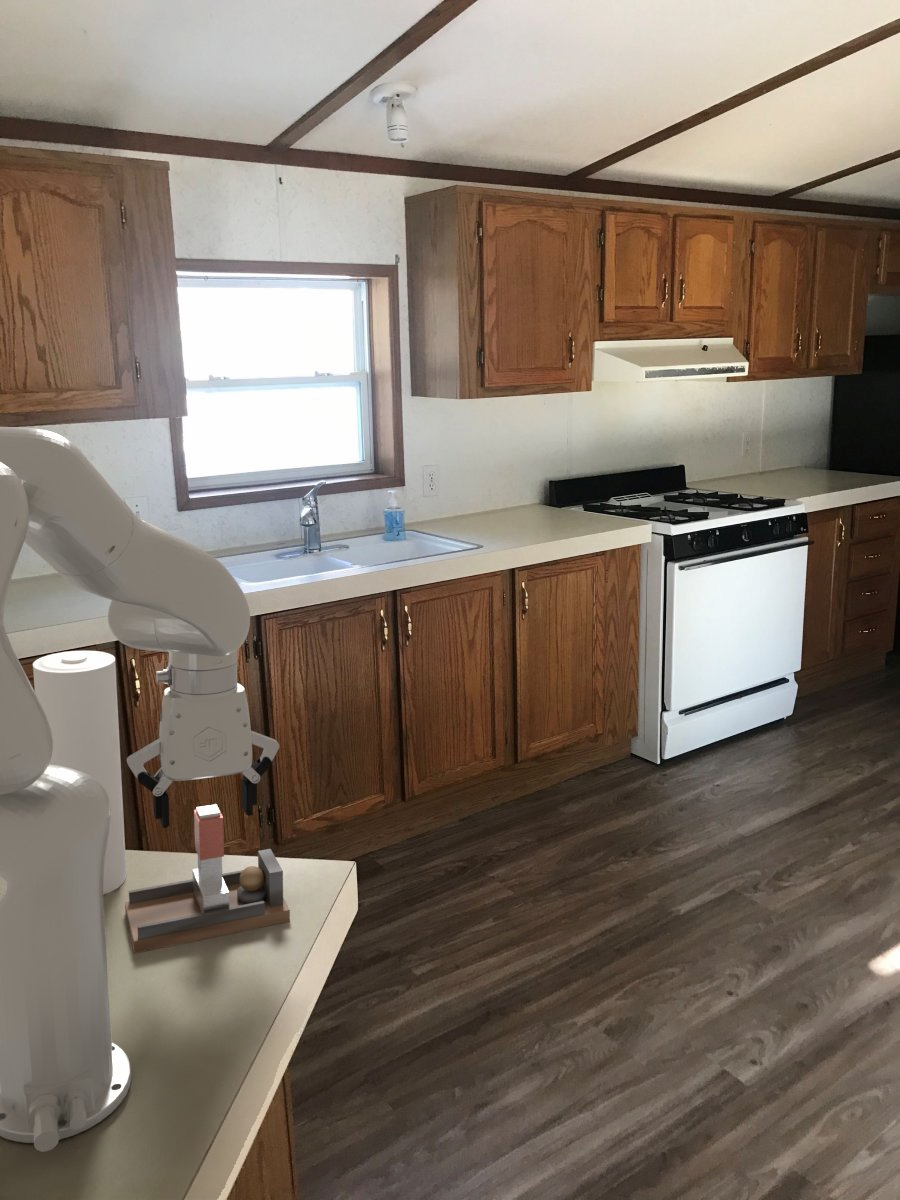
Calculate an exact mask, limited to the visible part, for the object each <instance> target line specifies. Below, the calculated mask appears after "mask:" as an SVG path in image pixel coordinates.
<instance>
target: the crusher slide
mask: <svg viewBox="0 0 900 1200" xmlns="http://www.w3.org/2000/svg"><path fill="white" fill-rule="evenodd" d="M193 820H194V821H193V823H194V847H195V852H196V853H197V868H193V869H192V879H193V892H194V895H195V897H196V900H197V903H198V905H199V908H200V911H201V913H204V912H210V911H215V910H220V909H225V908H229V891H228V889H227V886H226V884H225V882H224V880H223V877H222V874H223V860H222V859H223V858H224V857H225V842H224V840H225V839H224V816H223V814H222V813H221V811H220V809H219V807H218V804H217V803H214V804H211V805H210V804H209V805H203V806H196V808H195V809H194V810H193Z"/></svg>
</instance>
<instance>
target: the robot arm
mask: <svg viewBox="0 0 900 1200" xmlns="http://www.w3.org/2000/svg"><path fill="white" fill-rule="evenodd" d="M24 544H26V545H27V547H30V549H32V550H33V551H34V552H35V553H36V554H37V555H38V556H39V557H40V558H41V559H43V560H44V561H45V562H46V563H47V564H48V565H50V566H51V567H52V568H53V569H54V570H55V571H56V572H57V573H58V574H59V575H60V576H62V578H64V580H66V581H67V582H68V583H69V584H71V585H72V586H74V587H75V588H78V589H79V590H82V591H84V592H87V593H90V594H92V595H95V596H99V597H101V598H104V599H107V600H110V601H111V602H110V605H109V606H108V613H107V620H108V621H107V622H108V625H109V629H110V631H111V633H112V635H113V636H114V637H115V639H117V641H119V643H121V644H123V645H125V646H127V647H130V648H133V649H137V650H144V651H153V652H154V651H155V652H164V653H168V662H167V666H166V667H165V669H163V670H158V671H157V670H156V672H155V679H156V684H161V683H163V684H164V685H165V684H167V686H168V687H166V688H165V689H164V690H163V694H162V695H163V696H162V701H161V707H160V716H159V736H158V738H157V739H156V740H154V741H152V742H150V743H149V744H147V745H145V746H144V747H142V748H141V749H139V750H137V751H135V752H134V753H132V754H130V755H129V756H127V757H126V763H127V766H128V767H129V769H130V770H131V772H132V773H133V775H134V777H135V778H136V779H137V781H138V783H139V784H140V785H142V786H143V787H144V788H146V789H147V790H148V791H150V792H151V793H152V795H153V797H152V798H153V817H154V820H159V821H160V824H161V827H162V829H166V828H167V829H168V827H170V799H169V798H170V797H169V794H168V791H167V789H168V788H169V787H170V785H171V784H172V783H173V782H174V781H175V782H182V781H183V782H184V781H185V782H186V781H193V780H201V779H208V778H216V777H224V776H231V775H239V774H241V773H242V777H240V803H241V805H240V806H241V808H242V810H243V811H244V812H243V813H245V815H247V816H248V817H249V816H253V815H254V807H253V806H257V805H258V783H259V782H260V780H261V777H262V776H263V775H265V773H266V772H267V771H268V770H269V769H270V767H271V766H272V764H273V763H272V762H273V761H274V759H275V758H276V757H275V756H276V754H277V752H278V751H279V749H280V743H279V742H278V740H276V739H274V738H272V737H269V736H266V735H265V734H262V733H258V732H256V731H253V730H252V729H251V717H250V710H249V703H248V696H247V693H246V692H247V691H246V689H245V687H244V686H243V685H242V684H240V683H238V650H239V649H240V648H241V647H242V645H244V643H245V641H246V639H247V637H248V634H249V631H250V626H251V614H250V613H251V612H250V607H249V603H248V600H247V598H246V596H245V594H244V591H243V589H242V588H241V586H240V585H239V583H238V582H237V581H236V579H235V578H234V576H233V575H232V574H231V573H230V571H229V569H227V568H226V566H224V564H222V563H221V561H219V560H218V559H217V558H215V557H214V556H213V555H211V554H210V553H208V552H206V551H204V550H203V549H201V548H199V547H197V546H195V545H193V544H192V543H191V542H190V543H189V542H188V541H186V540H183V539H181V538H180V537H178V536H176V535H175V534H172V533H170V532H168V531H166V530H164V529H162V528H160V527H159V526H156V525H154V524H152V523H150V522H147V521H145V520H143V519H141V518H140V517H138V516H137V515H136V514H135V513H134V512H133V510H132V509H131V508H130V507H129V506H128V504H127V503H126V502H125V501H124V500H123V499H122V498H121V497H120V495H118V494H117V492H116V491H115V490H114V488H113V487H112V486H111V485H110V484H109V483H108V481H107V480H106V478H105V477H104V476H103V475H102V474H101V473H100V471H99V470H98V469H96V467H95V466H94V465H93V464H92V462H90V460H89V458H87V456H86V455H85V454H84V453H83V452H81V450H80V449H79V447H77V446H76V445H75V444H74V443H73V442H72V441H71V440H69V439H67V437H64V436H62V435H60V434H58V433H56V432H52V431H50V430H45V429H39V428H32V427H31V428H30V427H17V426H16V427H14V426H13V427H12V426H0V878H2V879H3V880H5V881H6V885H7V886H6V891H5V893H4V894H3V895H2V897H1V898H0V1137H1V1138H3V1139H6V1140H10V1141H12V1142H17V1143H27V1144H33V1146H34V1148H35V1149H36V1150H37V1152H38V1151H39V1152H42V1153H44V1152H50V1151H51V1150H53V1149H54V1148H56V1146H57V1145H58V1144H59V1140H63V1139H65V1138H69V1137H72V1136H76V1135H78V1134H80V1133H82V1132H85V1131H87V1130H88V1129H91V1128H92V1127H94V1126H96V1125H97V1124H99V1123H100V1122H102V1121H103V1120H105V1118H107V1117H108V1116H109V1115H111V1114H112V1113H113V1112H114V1111H115V1110H116V1109H117V1107H119V1106H120V1104H121V1103H122V1102H123V1100H124V1099H125V1098H126V1096H127V1094H128V1092H129V1089H130V1086H131V1081H132V1066H131V1062H130V1059H129V1056H128V1055H127V1053H126V1052H125V1050H124V1049H122V1048H121V1047H120V1046H118V1045H117V1044H116V1043H114V1042H113V1041H112V1025H111V1011H110V1010H111V1007H110V992H109V976H108V975H109V973H108V960H107V959H108V957H107V943H106V941H107V940H106V924H105V907H104V906H105V905H104V895H103V877H104V863H105V856H106V848H107V842H108V836H109V829H110V820H111V807H110V801H109V798H108V795H107V793H106V791H105V789H104V788H103V787H102V785H101V784H100V783H99V782H98V781H96V780H95V779H94V778H92V777H91V776H89V775H87V774H85V773H83V772H81V771H78V770H75V769H71V768H68V767H63V766H58V765H51V764H49V763H50V761H51V757H52V751H53V738H52V732H51V728H50V725H49V722H48V720H47V717H46V714H45V712H44V710H43V708H42V705H41V703H40V701H39V699H38V697H37V695H36V693H35V688H34V687H33V686H32V684H31V682H30V680H29V677H28V676H27V674H26V672H25V670H24V668H23V666H22V664H21V662H20V660H19V658H18V656H17V654H16V653H15V652H16V651H14V649H13V646H12V644H11V641H10V639H9V635H8V634H7V630H6V628H5V623H4V615H5V614H4V612H5V610H4V609H5V604H6V599H7V595H8V591H9V588H10V584H11V582H12V577H13V574H14V572H15V568H16V565H17V562H18V560H19V557H20V554H21V551H22V548H23V545H24ZM253 745H254V746H257V747H259V748H262V749H263V750H262V753H261V754H260V755H259V757H257V758H256V760H255V761H253ZM155 757H158V760H159V764H160V766H161V767H160V768H159V769H158V770H157V771H156V772H155V774H154V775H153V774H152V773H150V772H149V771H148V770H147V769H145V767H144V765H145V763H147V762H149V761H151V760H152V759H154V758H155Z"/></svg>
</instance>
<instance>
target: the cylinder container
mask: <svg viewBox="0 0 900 1200" xmlns="http://www.w3.org/2000/svg"><path fill="white" fill-rule="evenodd" d="M116 666H117V665H116V657H115V656H114V655H113V654H111V653H108V652H105V651H99V650H70V651H62V652H57V653H51V654H47V655H44V656H42V657H39V658H37V659H36V660H35V661H33V662H32V671H33V674H32V675H33V685H34V687H33V688H34V691H35V693H36V695H37V697H38V699H39V701H40V703H41V705H42V708H43V710H44V712H45V714H46V717H47V720H48V722H49V725H50V728H51V732H52V738H53V751H52V757H51V761H50V763H49V764H51V765H58V766H63V767H68V768H71V769H75V770H78V771H81V772H83V773H85V774H87V775H89V776H91V777H92V778H94V779H95V780H96V781H98V782H99V783H100V784H101V785H102V787H103V788H104V789H105V791H106V793H107V795H108V798H109V801H110V807H111V820H110V829H109V836H108V842H107V848H106V856H105V863H104V877H103V896H104V895H106V894H109V893H111V892H113V891H114V890H116V889H118V888H120V887H121V886H122V884H124V883H125V881H126V879H127V860H126V842H125V823H124V822H125V821H124V819H125V818H124V804H123V802H124V801H123V784H122V768H121V767H122V766H121V765H122V764H121V748H120V747H121V745H120V729H119V726H120V725H119V709H118V708H119V706H118V690H117V668H116Z"/></svg>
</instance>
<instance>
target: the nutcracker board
mask: <svg viewBox="0 0 900 1200" xmlns="http://www.w3.org/2000/svg"><path fill="white" fill-rule="evenodd" d="M222 877H223V880H224V882H225V884H226V886H227V889H228V891H229V908H225V909H220V910H215V911H210V912H204V913H201V911H200V908H199V905H198V903H197V900H196V897H195V895H194V892H193V878H192V879H186V880H182V881H175V882H169V883H165V884H159V885H153V886H149V887H148V886H147V887H143V888H142V887H141V888H138V889H131V890H128V898H129V900H128V901H125V902H124V908H125V909H124V910H125V912H124V913H125V918H126V921H127V926H128V930H129V935H130V939H131V943H132V947H133V951H134V954H137V953H138V954H139V953H143V952H147V951H152V950H158V949H162V948H166V947H172V946H176V945H182V944H186V943H190V942H191V943H192V942H195V941H196V942H197V941H201V940H205V939H211V938H216V937H219V936H220V937H221V936H225V935H228V934H229V935H230V934H234V933H238V932H244V931H249V930H254V929H258V928H262V927H267V926H272V925H278V924H282V923H287V922H290V921H291V919H290V918H291V916H290V915H291V912H290V911H291V909H290V908H289V906H288V904H287V902H286V900H285V899H284V871H283V868H282V867H281V865H280V862H279V861H278V860H277V858H276V856H275V853H273V851H272V849H271V848H267V849H262V850H257V866H254V865H252V866H248V867H247V866H246V867H245V868H244V869H242V870H236V871H230V872H225V873H222Z"/></svg>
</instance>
